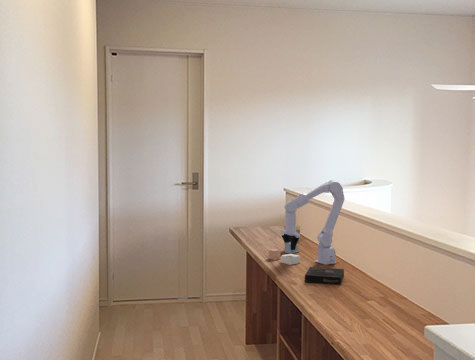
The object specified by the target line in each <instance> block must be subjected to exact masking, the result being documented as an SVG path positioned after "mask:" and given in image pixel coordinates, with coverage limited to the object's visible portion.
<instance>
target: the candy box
mask: <svg viewBox="0 0 475 360" xmlns="http://www.w3.org/2000/svg"><path fill="white" fill-rule="evenodd" d="M296 232H297V233H299V234H300V235H301V226H300V225H296ZM300 242H301V237H300V238H299V240H298V242H297V248H296V253H301V252H300V248H301V246H300Z"/></svg>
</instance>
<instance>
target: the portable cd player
mask: <svg viewBox="0 0 475 360" xmlns="http://www.w3.org/2000/svg"><path fill="white" fill-rule="evenodd" d="M344 276H345V269H344V268H334V267H333V268H331V267H318V266H316V267H315V266H310V267H309V268H308V269H307V271H306V273H305V274H304V283H305V284H307V283H308V284H321V285H333V286H334V285H335V286H341V285H342V282H343V279H344Z"/></svg>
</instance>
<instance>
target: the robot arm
mask: <svg viewBox="0 0 475 360" xmlns="http://www.w3.org/2000/svg"><path fill="white" fill-rule="evenodd" d="M324 193H330V194H331V195H332V197H333V203H332V205H331V209H330V210H329V214H328V215H327V216H328V217H327V218H326V220H325V221H326V222H325V224H324V226H323V228H322V229H321V231H320V232H319V233H318V235H317V241H318V244H317V260H314V262H315V263H318V264H320V265H325V266H326V265H333V264H337V261H336V250H335V248H333V247H332V243H333V235H334V229H335V226H336V224H337V222H338V219H339V216H340V213H341V211H342V208H343V205H344V202H345V194H344V188H343V186H342V184H341V183H340V182H338V181H336V180H333V179H332V180H328V182H324V183H322V184H320V186H318V187H316V188H314V189H313V190H311V191H309V192H308V193H299V194H298V196H297V197H295V198H291V200H289V201H286V203H284V204H285V205H284V209H285V213H284V214H285V218H284V221H285V223H284V224H285V225H284V229H281V230H280V234H282V235H281V238H282V240H283V242H284V244H285V242H290V243H291V250H295V248H296V244H297V242H298V240H299V238H300V239H301V233H300V234H299V233H297V232H296V226H297V213H296V212H297V210H298V209H300V208H302V207H304V206H306V205H308V204H309V203H310V200H312V199H313V198H315V197H317V196H319V195H321V194H324Z"/></svg>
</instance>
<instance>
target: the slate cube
mask: <svg viewBox="0 0 475 360" xmlns="http://www.w3.org/2000/svg"><path fill="white" fill-rule="evenodd" d="M296 248H297V244H296ZM296 248H295V250H291V243H290V242H285V243H284V253H287V254H295V253H297V252H296Z"/></svg>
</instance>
